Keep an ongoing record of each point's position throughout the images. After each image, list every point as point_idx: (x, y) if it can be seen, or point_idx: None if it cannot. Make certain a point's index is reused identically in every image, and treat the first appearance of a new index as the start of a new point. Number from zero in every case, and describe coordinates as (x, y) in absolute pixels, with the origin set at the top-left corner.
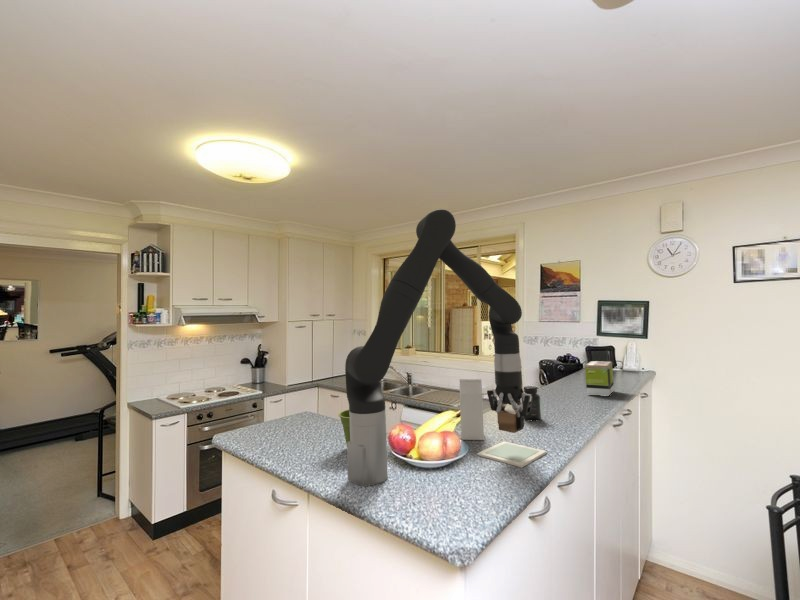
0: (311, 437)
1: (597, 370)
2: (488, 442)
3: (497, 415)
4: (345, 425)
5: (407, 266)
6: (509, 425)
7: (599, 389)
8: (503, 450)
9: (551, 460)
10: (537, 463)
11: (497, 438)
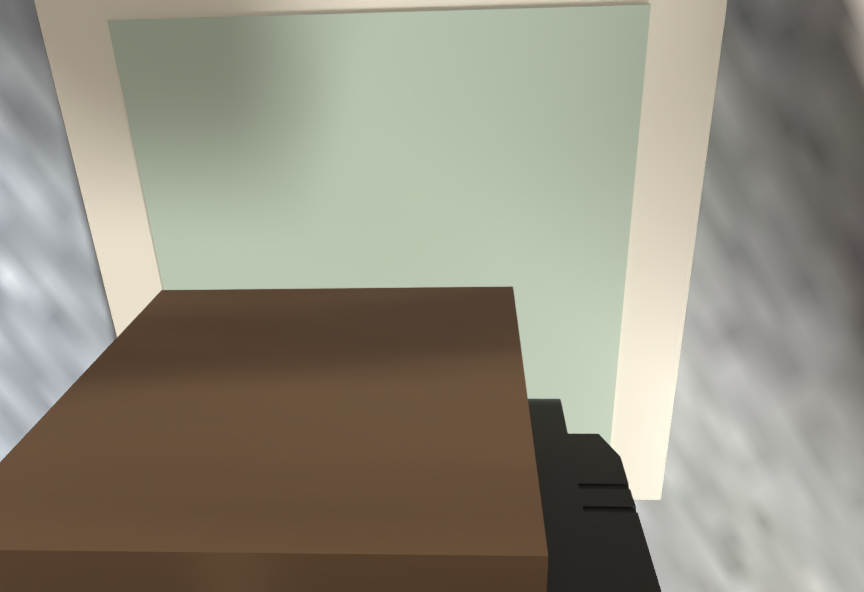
0: None
1: None
2: (821, 415)
3: (656, 578)
4: None
5: None
6: (217, 353)
7: None
8: (491, 241)
9: (9, 351)
10: (29, 191)
11: (787, 563)
